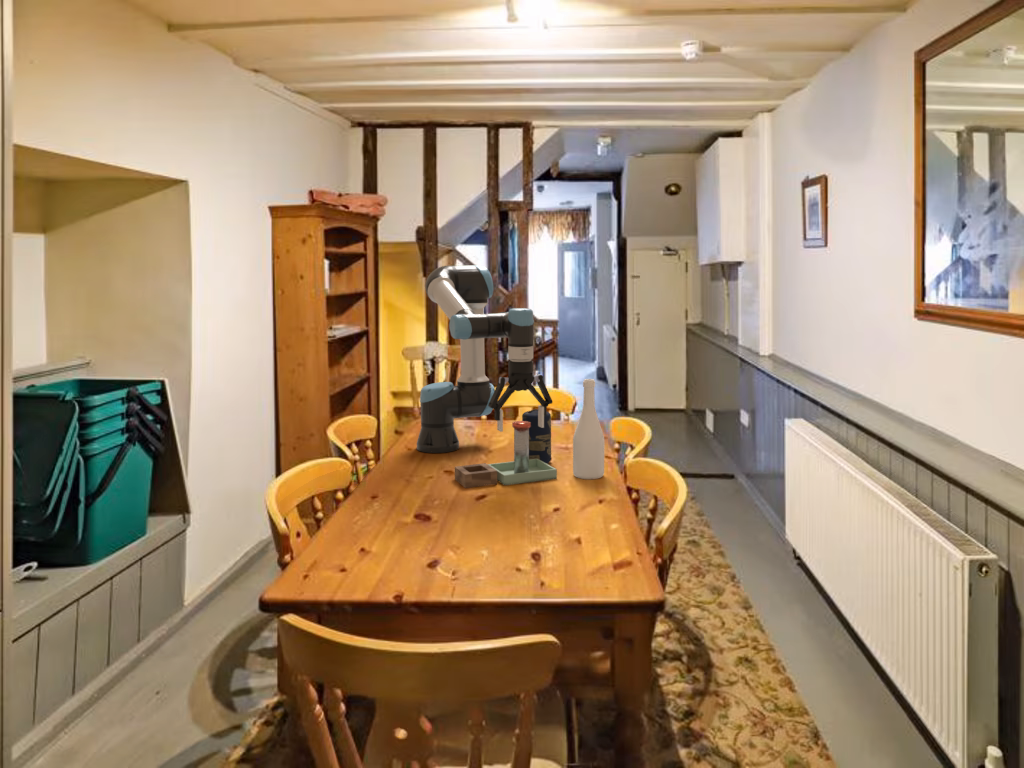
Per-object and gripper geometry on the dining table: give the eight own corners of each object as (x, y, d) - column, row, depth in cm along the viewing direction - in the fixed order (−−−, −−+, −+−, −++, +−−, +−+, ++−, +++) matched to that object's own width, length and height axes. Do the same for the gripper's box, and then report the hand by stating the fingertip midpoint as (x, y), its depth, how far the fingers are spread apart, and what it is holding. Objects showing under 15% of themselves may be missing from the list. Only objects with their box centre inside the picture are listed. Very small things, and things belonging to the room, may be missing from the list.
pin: (509, 472, 231) (509, 421, 229) (526, 471, 233) (526, 420, 231) (516, 477, 226) (516, 425, 223) (533, 475, 228) (533, 423, 225)
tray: (487, 473, 233) (487, 464, 233) (537, 467, 239) (537, 458, 239) (504, 485, 220) (504, 475, 220) (556, 478, 226) (556, 469, 226)
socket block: (454, 479, 227) (454, 466, 226) (485, 475, 231) (485, 463, 230) (465, 488, 218) (465, 474, 217) (497, 484, 221) (497, 471, 221)
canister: (548, 467, 240) (548, 412, 237) (520, 465, 242) (519, 411, 239) (553, 459, 249) (553, 407, 247) (525, 458, 251) (524, 406, 249)
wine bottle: (566, 476, 229) (567, 379, 225) (585, 470, 236) (586, 376, 232) (591, 481, 223) (592, 382, 218) (610, 475, 230) (611, 379, 225)
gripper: (486, 363, 216) (486, 435, 220) (563, 359, 226) (562, 427, 229) (477, 360, 223) (478, 429, 227) (552, 356, 232) (552, 422, 236)
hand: (520, 428), depth 228 cm, fingers open, 13 cm apart
